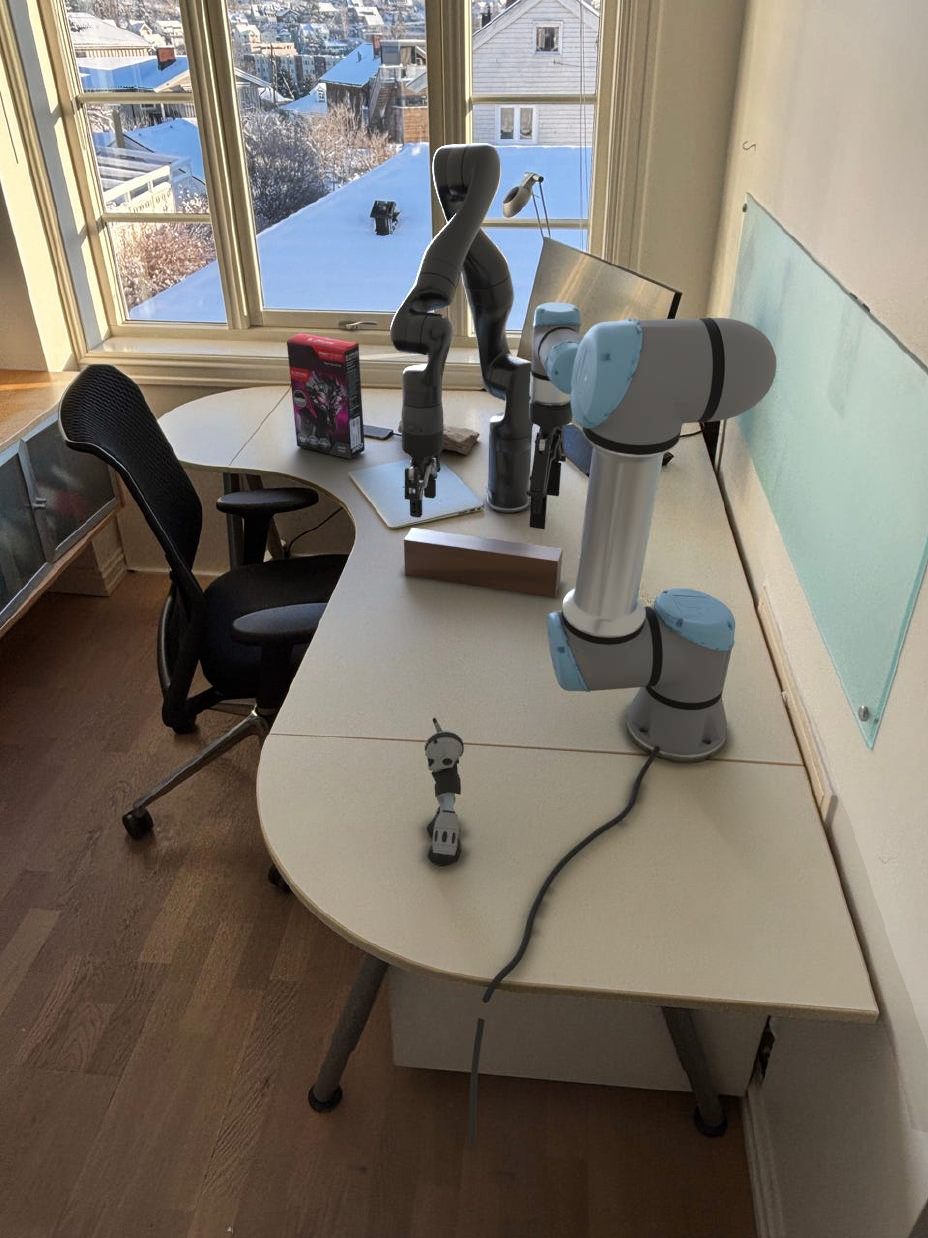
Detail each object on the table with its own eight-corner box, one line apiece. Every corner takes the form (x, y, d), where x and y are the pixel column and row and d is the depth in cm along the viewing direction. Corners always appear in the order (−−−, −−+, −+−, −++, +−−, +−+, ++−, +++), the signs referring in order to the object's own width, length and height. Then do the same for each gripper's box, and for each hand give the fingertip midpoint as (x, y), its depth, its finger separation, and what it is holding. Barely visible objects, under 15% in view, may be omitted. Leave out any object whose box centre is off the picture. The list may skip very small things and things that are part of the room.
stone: (382, 437, 229) (387, 414, 227) (402, 429, 243) (406, 406, 240) (461, 462, 226) (467, 438, 223) (477, 452, 239) (482, 429, 237)
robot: (466, 900, 116) (468, 784, 104) (427, 902, 115) (425, 785, 104) (459, 789, 132) (460, 678, 121) (425, 790, 132) (423, 679, 120)
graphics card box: (294, 447, 232) (283, 339, 217) (310, 437, 237) (301, 331, 222) (351, 461, 225) (344, 350, 210) (367, 450, 230) (361, 342, 215)
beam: (555, 597, 175) (557, 561, 170) (404, 575, 181) (403, 539, 177) (559, 584, 179) (562, 548, 174) (412, 562, 185) (411, 527, 181)
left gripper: (430, 442, 159) (430, 526, 168) (453, 413, 171) (452, 493, 179) (389, 437, 161) (392, 520, 170) (415, 409, 172) (416, 488, 181)
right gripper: (560, 428, 146) (552, 545, 157) (585, 376, 166) (576, 484, 177) (513, 422, 147) (509, 539, 159) (544, 372, 167) (538, 479, 179)
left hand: (423, 506), depth 175 cm, fingers open, 8 cm apart
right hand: (544, 510), depth 168 cm, fingers open, 13 cm apart
